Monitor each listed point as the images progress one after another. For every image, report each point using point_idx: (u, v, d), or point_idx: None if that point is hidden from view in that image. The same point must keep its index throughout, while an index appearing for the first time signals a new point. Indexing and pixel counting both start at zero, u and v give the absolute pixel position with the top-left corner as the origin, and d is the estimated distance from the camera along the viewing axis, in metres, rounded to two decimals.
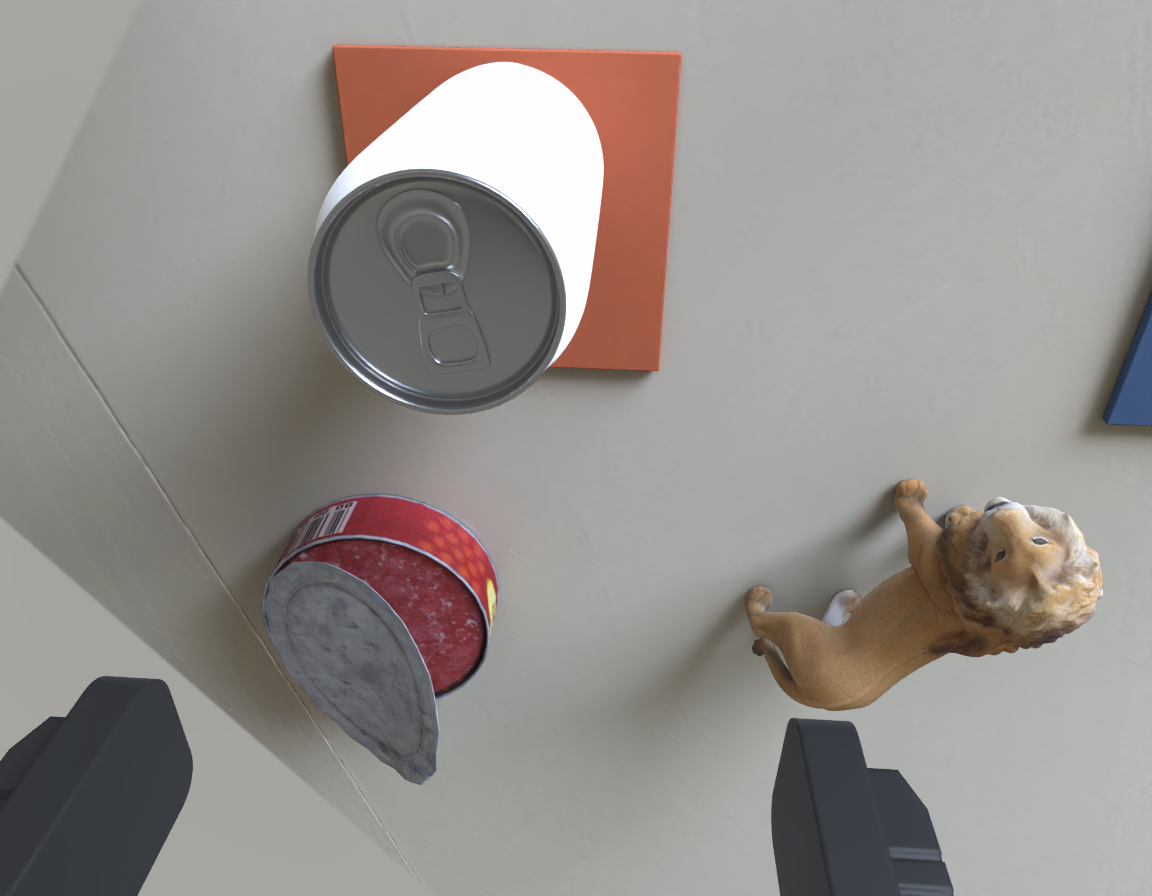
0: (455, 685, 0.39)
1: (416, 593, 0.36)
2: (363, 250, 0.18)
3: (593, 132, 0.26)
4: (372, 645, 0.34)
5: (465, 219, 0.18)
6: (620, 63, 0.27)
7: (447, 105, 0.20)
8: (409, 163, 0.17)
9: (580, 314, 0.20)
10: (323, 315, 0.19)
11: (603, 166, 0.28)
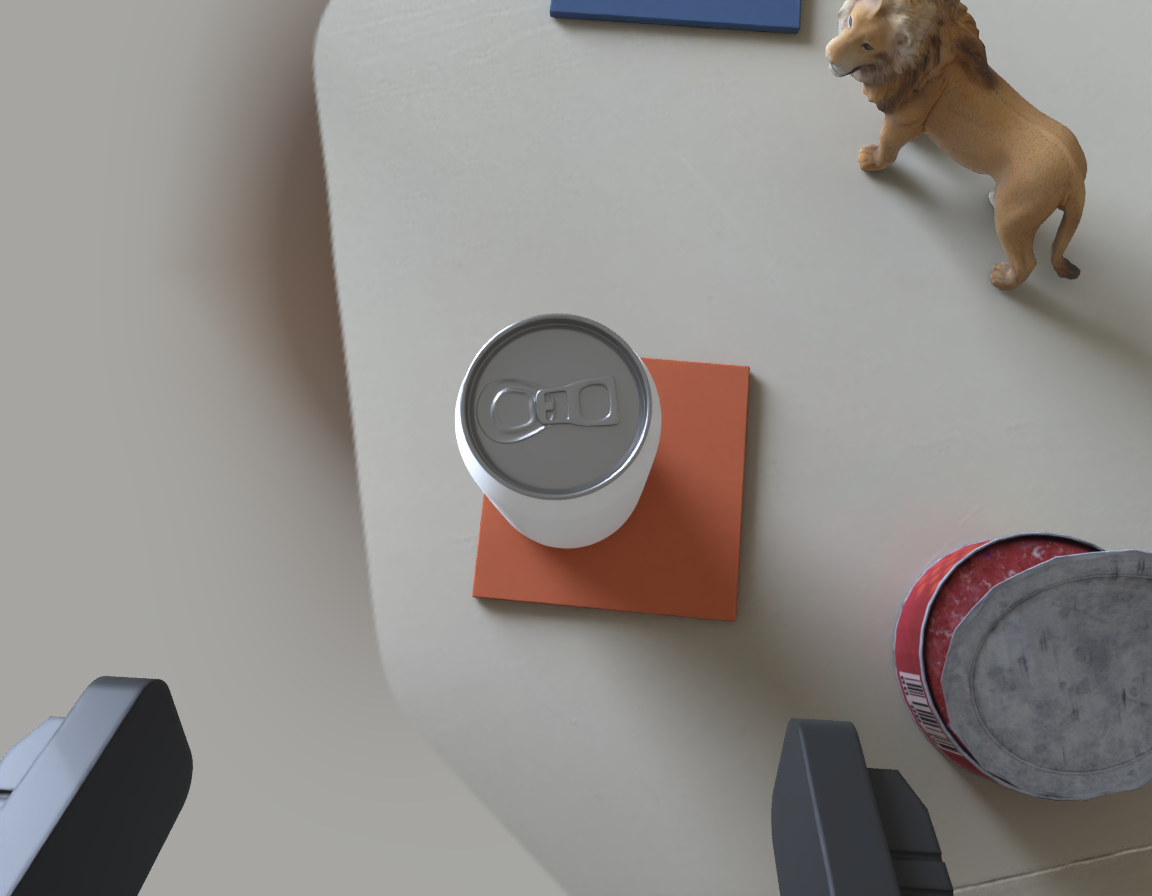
0: None
1: None
2: (516, 456, 0.25)
3: None
4: (1045, 641, 0.30)
5: (500, 379, 0.25)
6: None
7: None
8: None
9: None
10: (565, 498, 0.25)
11: None
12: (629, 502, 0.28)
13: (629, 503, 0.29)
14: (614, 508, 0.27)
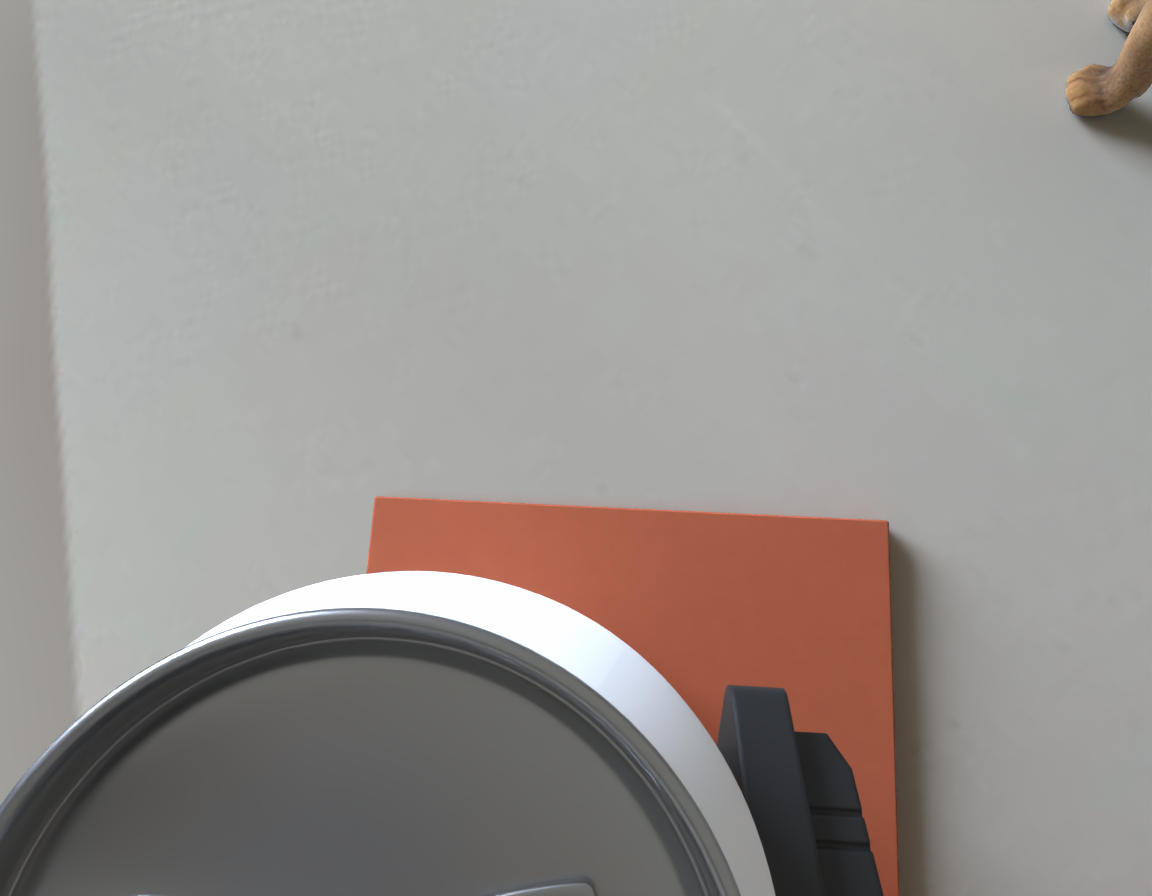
0: None
1: None
2: None
3: None
4: None
5: None
6: None
7: None
8: None
9: (508, 591, 0.07)
10: None
11: None
12: None
13: None
14: None
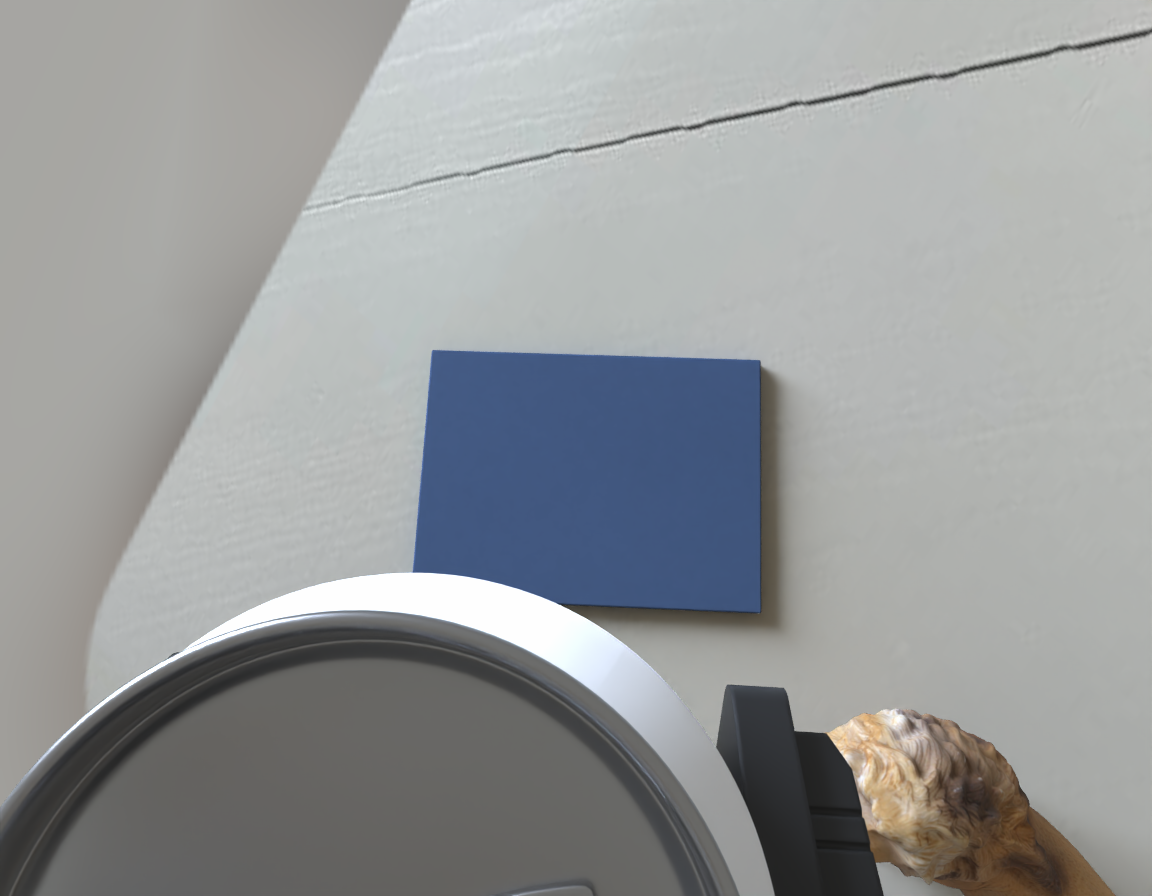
0: None
1: None
2: None
3: None
4: None
5: None
6: None
7: None
8: None
9: (507, 593, 0.07)
10: None
11: None
12: None
13: None
14: None
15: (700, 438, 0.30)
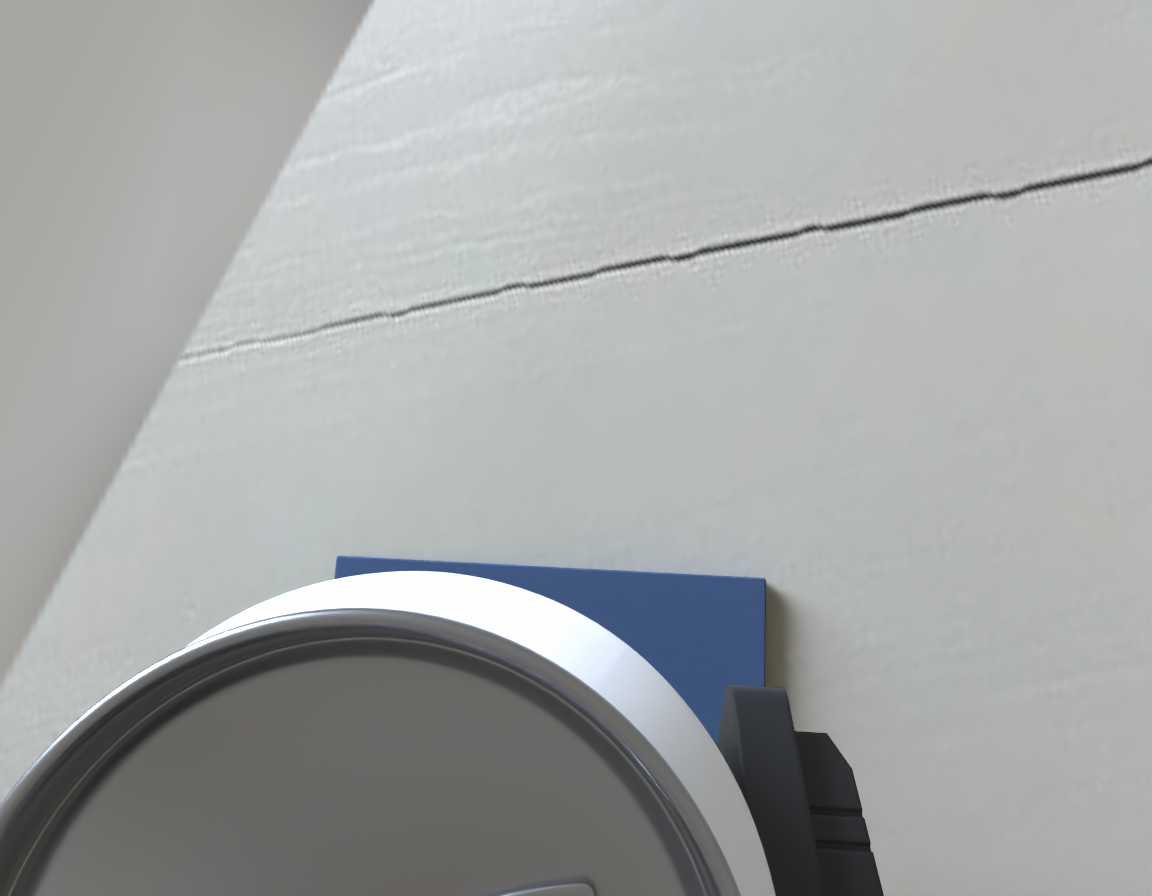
0: None
1: None
2: None
3: None
4: None
5: None
6: None
7: None
8: None
9: (507, 591, 0.07)
10: None
11: None
12: None
13: None
14: None
15: (686, 686, 0.23)
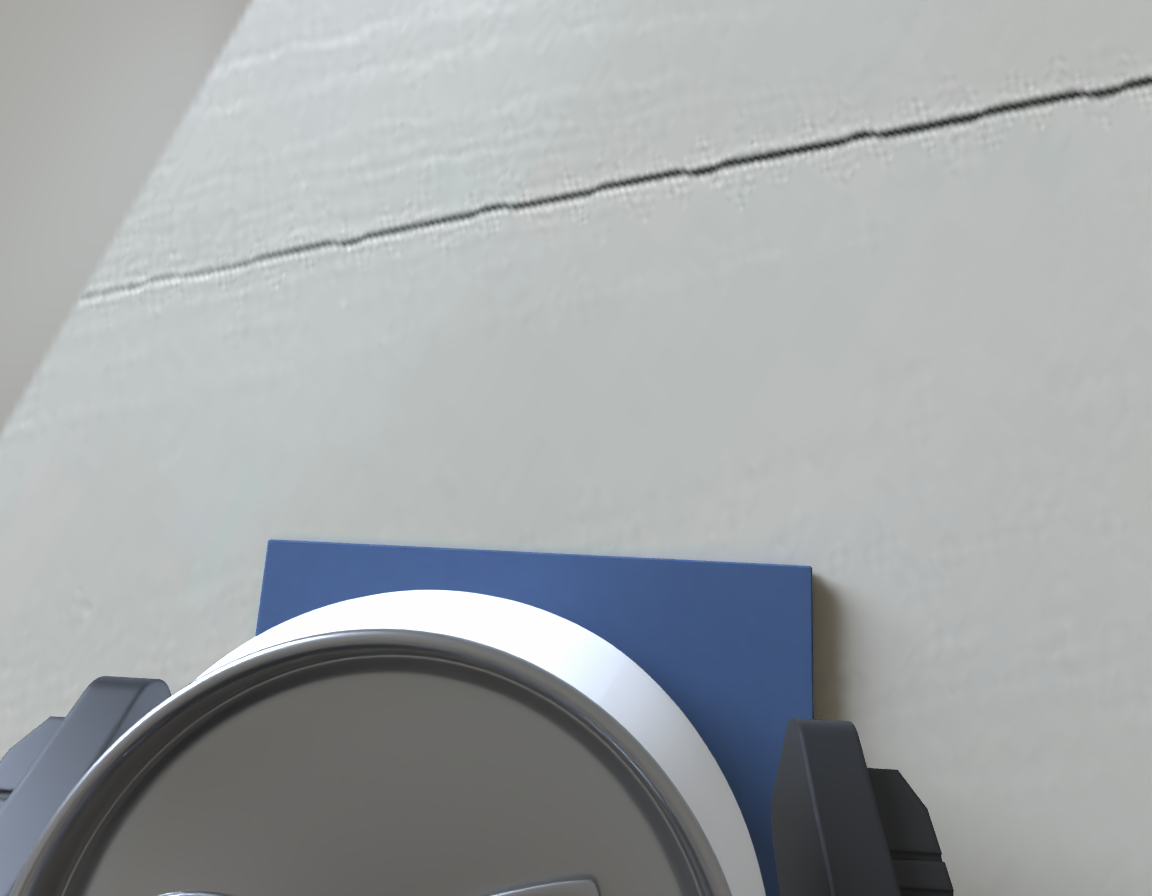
0: None
1: None
2: None
3: None
4: None
5: None
6: None
7: None
8: None
9: (516, 609, 0.08)
10: None
11: None
12: None
13: None
14: None
15: (711, 705, 0.18)
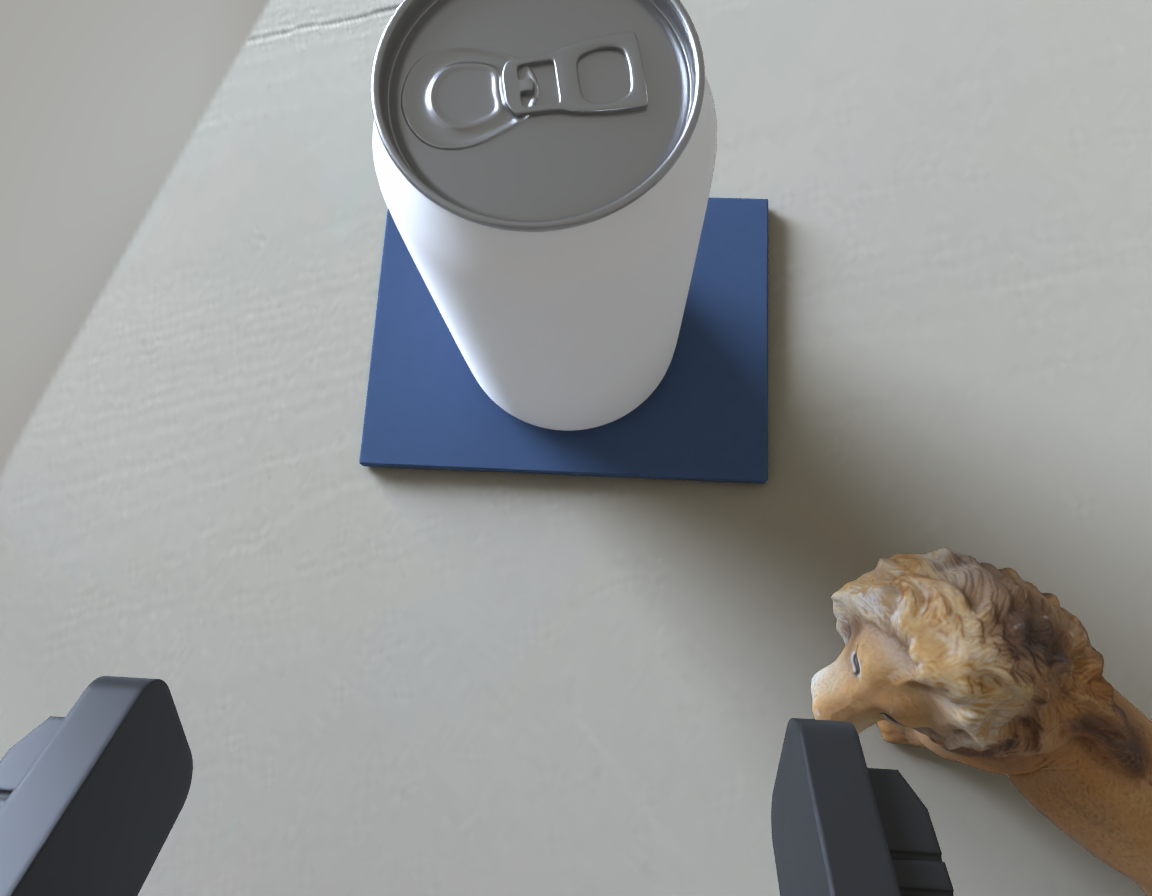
0: None
1: None
2: (472, 169, 0.14)
3: None
4: None
5: (440, 49, 0.15)
6: None
7: None
8: None
9: None
10: (560, 231, 0.14)
11: None
12: (666, 297, 0.18)
13: (666, 303, 0.18)
14: (644, 283, 0.16)
15: (698, 285, 0.26)
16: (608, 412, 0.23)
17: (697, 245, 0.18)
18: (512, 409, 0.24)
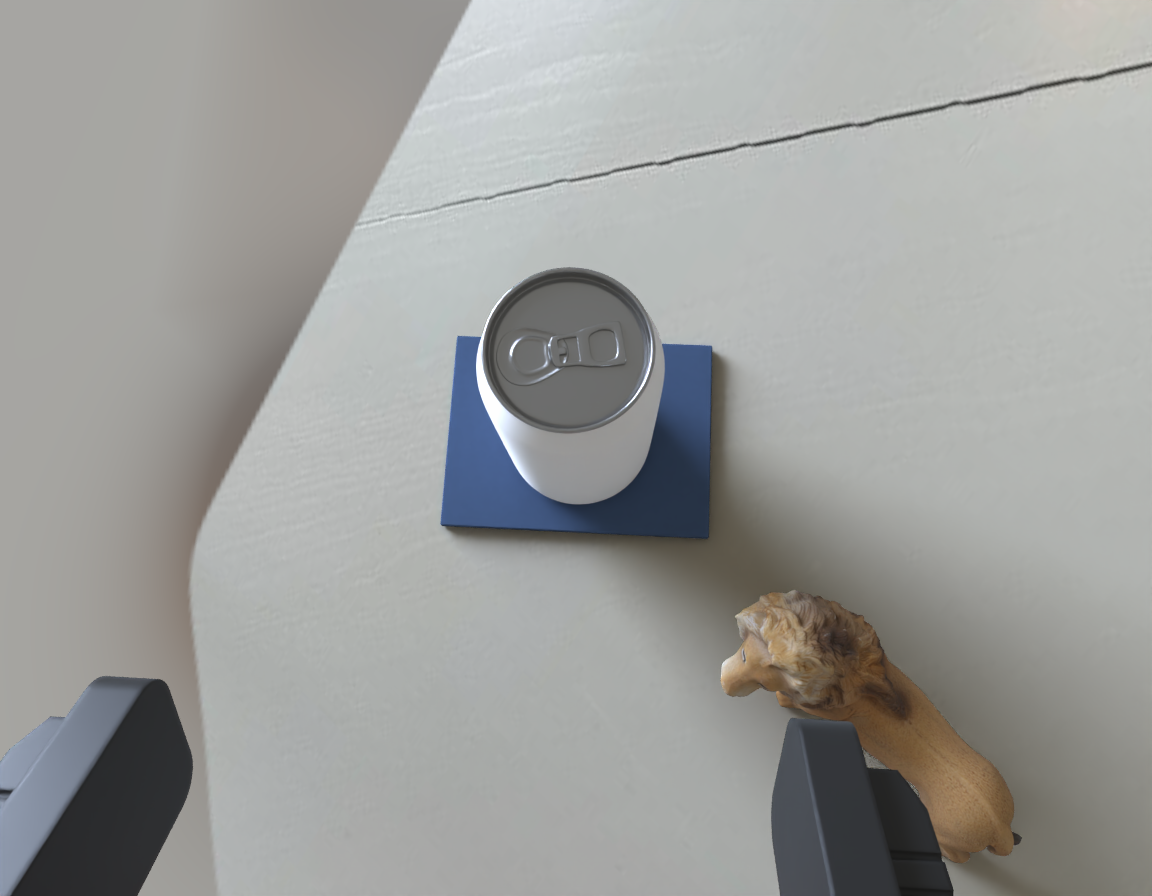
0: None
1: None
2: (534, 397, 0.27)
3: None
4: None
5: (516, 328, 0.28)
6: None
7: None
8: None
9: None
10: (581, 431, 0.27)
11: None
12: (638, 444, 0.31)
13: (638, 446, 0.31)
14: (625, 446, 0.29)
15: (665, 405, 0.39)
16: (604, 495, 0.37)
17: (656, 413, 0.31)
18: (542, 492, 0.37)
